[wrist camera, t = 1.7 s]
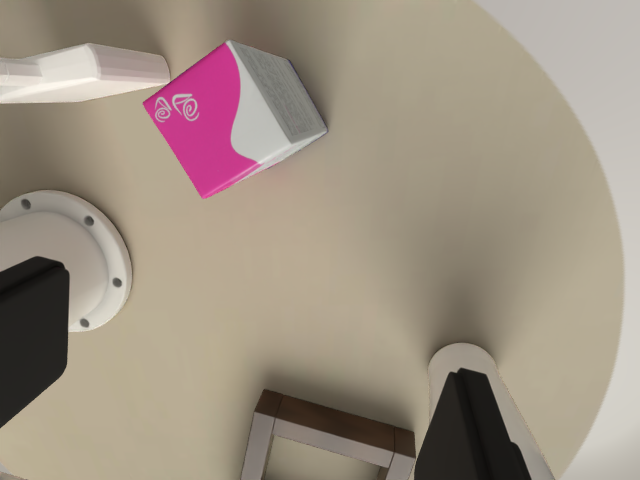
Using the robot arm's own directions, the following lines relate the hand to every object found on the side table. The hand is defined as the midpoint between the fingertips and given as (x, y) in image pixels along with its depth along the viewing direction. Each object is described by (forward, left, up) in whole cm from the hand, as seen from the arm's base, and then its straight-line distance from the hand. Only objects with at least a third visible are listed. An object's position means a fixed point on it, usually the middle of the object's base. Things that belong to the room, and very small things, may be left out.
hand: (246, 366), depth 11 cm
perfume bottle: (-18, +4, -24) cm, 30 cm away
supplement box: (-6, +4, -24) cm, 25 cm away
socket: (+4, -26, -24) cm, 36 cm away
